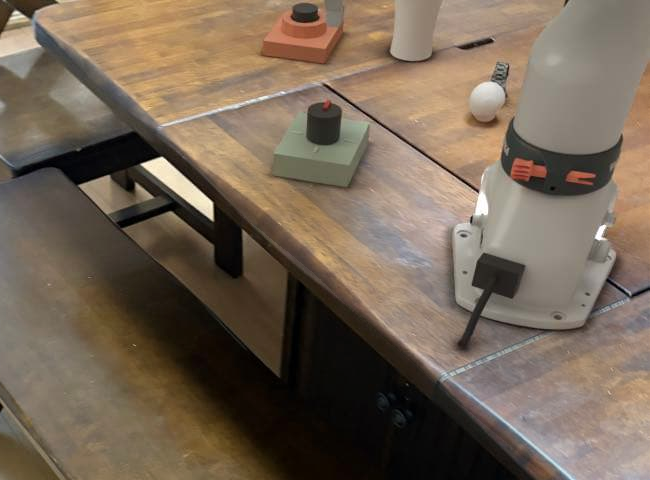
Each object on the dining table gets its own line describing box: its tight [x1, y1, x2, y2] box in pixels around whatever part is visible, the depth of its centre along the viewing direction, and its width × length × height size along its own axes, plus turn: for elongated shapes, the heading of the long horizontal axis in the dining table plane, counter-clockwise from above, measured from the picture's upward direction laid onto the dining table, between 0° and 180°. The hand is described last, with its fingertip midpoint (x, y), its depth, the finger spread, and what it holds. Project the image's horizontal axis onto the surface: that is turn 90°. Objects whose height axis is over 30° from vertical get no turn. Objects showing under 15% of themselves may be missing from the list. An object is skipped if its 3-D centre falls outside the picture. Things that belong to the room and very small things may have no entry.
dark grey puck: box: [291, 2, 319, 23], centre depth 136 cm, size 4×4×2 cm
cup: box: [389, 0, 443, 62], centre depth 132 cm, size 10×10×14 cm
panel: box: [272, 111, 371, 188], centre depth 115 cm, size 12×10×3 cm
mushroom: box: [468, 81, 506, 123], centre depth 121 cm, size 5×5×5 cm
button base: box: [262, 9, 345, 64], centre depth 138 cm, size 12×10×4 cm
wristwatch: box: [489, 60, 511, 99], centre depth 126 cm, size 3×5×5 cm
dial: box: [306, 99, 343, 145], centre depth 112 cm, size 4×4×4 cm
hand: (343, 8), depth 103 cm, fingers open, 8 cm apart
